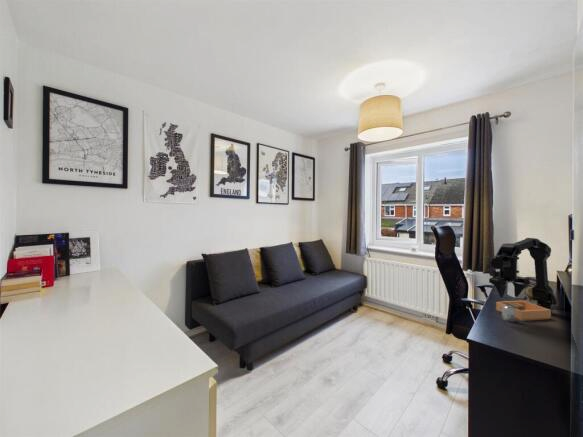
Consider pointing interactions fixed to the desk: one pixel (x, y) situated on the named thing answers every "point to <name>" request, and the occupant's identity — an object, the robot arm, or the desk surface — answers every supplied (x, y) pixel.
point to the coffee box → (530, 290)
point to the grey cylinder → (508, 313)
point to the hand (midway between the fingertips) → (508, 296)
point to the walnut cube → (517, 306)
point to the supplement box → (511, 291)
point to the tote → (527, 311)
